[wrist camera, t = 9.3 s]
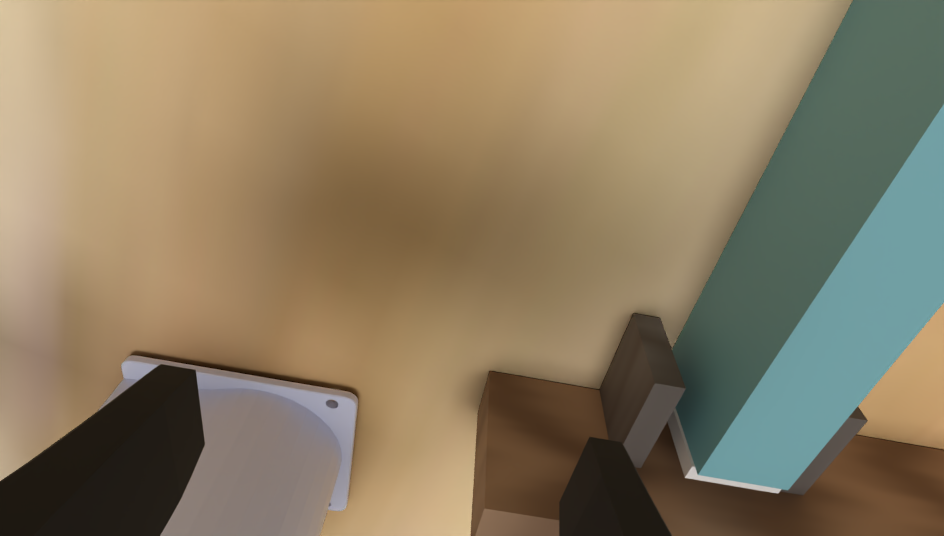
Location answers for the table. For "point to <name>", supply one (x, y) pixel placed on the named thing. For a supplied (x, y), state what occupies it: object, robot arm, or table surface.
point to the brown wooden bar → (656, 460)
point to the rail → (823, 258)
